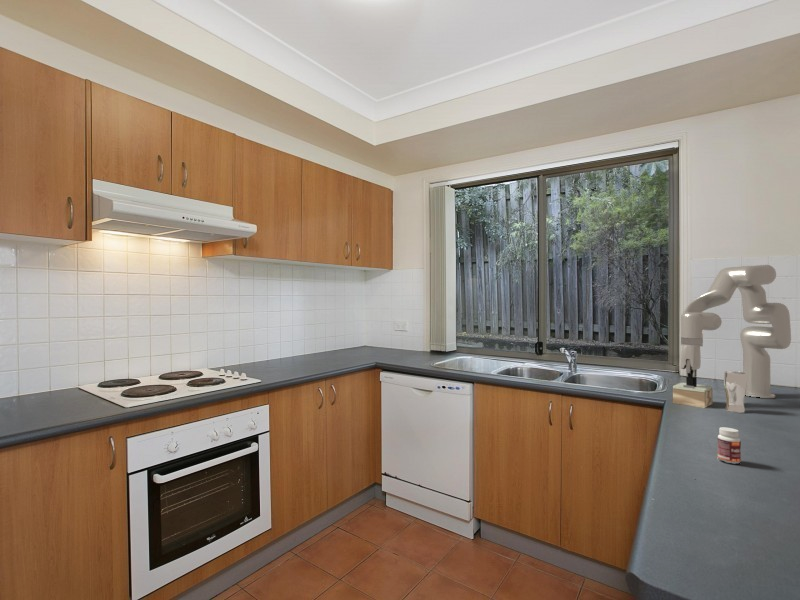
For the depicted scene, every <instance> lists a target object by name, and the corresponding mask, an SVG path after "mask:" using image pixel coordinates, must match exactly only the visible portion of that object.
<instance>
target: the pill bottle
mask: <svg viewBox="0 0 800 600" xmlns="http://www.w3.org/2000/svg"><path fill="white" fill-rule="evenodd" d="M718 430H719V432H718V433H719V434H718V435H717V459H718V458H720V459H723V460H726V461H731V462H742V461H741V457H742V455H741V450H742V447H741V444H742V441H741V438H739V436H740V431H739V430H738V429H737V428H732V427H726V426H725V427H723V426H721V427H719V429H718Z"/></svg>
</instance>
